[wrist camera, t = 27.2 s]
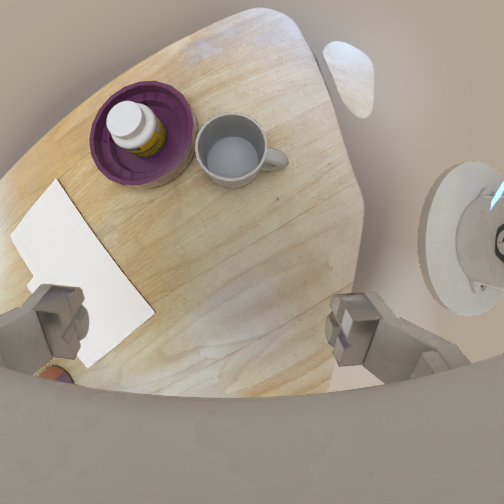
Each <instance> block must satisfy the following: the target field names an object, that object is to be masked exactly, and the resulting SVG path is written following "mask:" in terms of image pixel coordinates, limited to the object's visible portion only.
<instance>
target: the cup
mask: <svg viewBox="0 0 504 504" xmlns="http://www.w3.org/2000/svg"><path fill="white" fill-rule="evenodd" d="M267 143H268V142H267V138H266V135H265V132H264V131H263V129H262V127H261V126H260V125H259V124H258V123H257V122H256V121H255V120H254V119H252V118H251V117H249V116H247V115H244V114H241V113H235V112H227V113H223V114H219V115H217V116H215V117H213V118H211V119H210V120H208V121H207V122H206V123H205V124H204V125H203V126H202V128H201V129H200V131H199V132H198V135H197V138H196V141H195V152H196V157H197V160H198V162H199V163H200V165H201V167H202V168H203V170H204V171H205V172H206V174H207V175H208V176H209V177H210V179H211V180H212V181H213V182H215V183H216V184H218V185H220V186H222V187H225V188H239V187H243V186H245V185H247V184H249V183H250V182H251V181H252V180H253V179H255V178H256V176H257V174H258V173H259V171H260V170H266V171H278V170H283V169H285V168H286V166H287V165H288V163H289V162H288V158H287V155H286V154H284V153H283V152H281V151H278V150H276V149H272V148H267Z"/></svg>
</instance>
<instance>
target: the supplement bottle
mask: <svg viewBox="0 0 504 504" xmlns="http://www.w3.org/2000/svg"><path fill="white" fill-rule="evenodd" d="M107 128H108V130H109V131H110V133H111V136H112V138H113V140H114V142H115V143H116V144H117V145H119V146H120V147H122V148H123V149H125V150H127V151H129V152H130V153H132V154H134V155H136V156H138V157H141V158H150V157H153V156H155V155H157V154H158V153H160V152H161V151H162V150H163V148H164V147H165V145H166V142H167V131H166V128H165V127H164V125H163V124H162V122H161V121H160V120H159V119H158V118H157V116H156V115H155V114H154V113H153V111H152V110H151V109H150V108H149V107H147V106H146V105H143V104H140V103H135V102H132V101H123V102H120V103H118V104H117V105H115V106H114V107H113V108H112V109H111V110H110V112H109V114H108V116H107Z"/></svg>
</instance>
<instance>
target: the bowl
mask: <svg viewBox="0 0 504 504" xmlns="http://www.w3.org/2000/svg"><path fill="white" fill-rule="evenodd" d="M123 101H132V102H135V103H140V104H143V105H146V106H147V107H149V108H150V109H151V110H152V111H153V113H154V114H155V115H156V116H157V118H158V119H159V120H160V121H161V122H162V124H163V125H164V127H165V128H166V131H167V142H166V145H165V147H164V148H163V150H162V151H161V152H160V153H158V154H157V155H155V156H153V157H150V158H141V157H138V156H136V155H134V154H132V153H130V152H129V151H127V150H125V149H123V148H122V147H120V146H119V145H117V144H116V143H115V142H114V140H113V138H112V136H111V133H110V131H109V130H108V128H107V116H108V114H109V112H110V110H111V109H112V108H113V107H114V106H115V105H117V104H118V103H120V102H123ZM197 135H198V128H197V123H196V119H195V116H194V114H193V112H192V110H191V107H190V106H189V104H188V102H187V101H186V99H185V98H184V96H183V95H182V94H181V93H180V92H179V91H177V90H176V89H175V88H173V87H172V86H170V85H167V84H164V83H161V82H157V81H144V82H137V83H134V84H131V85H129V86H126V87H124V88H122V89H121V90H119V91H118V92H116V93H115V94H113V95H112V96H111V97H110V98H109V99H108V100H107V101H106V102H105V103H104V104H103V106H102V107H101V108H100V109H99V111H98V113H97V115H96V117H95V119H94V121H93V124H92V128H91V134H90V149H91V155H92V158H93V160H94V162H95V164H96V166H97V168H98V169H99V170H100V171H101V172H102V173H103V174H104V175H105V176H106V177H107V178H108V179H110V180H112V181H115V182H117V183H119V184H122V185H125V186H129V187H133V188H144V189H151V188H154V187H158V186H162V185H165V184H167V183H168V182H170V181H171V180H173V179H175V178H176V177H178V176H179V175H180V174H181V173H182V171H183V170H184V169H185V168H186V167H187V166H188V165H189V163H190V162H191V159H192V157H193V155H194V153H195V141H196V138H197Z"/></svg>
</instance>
